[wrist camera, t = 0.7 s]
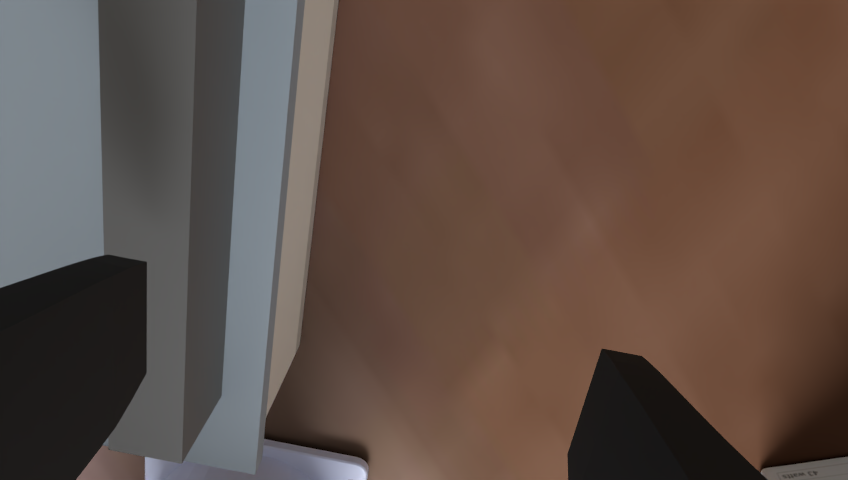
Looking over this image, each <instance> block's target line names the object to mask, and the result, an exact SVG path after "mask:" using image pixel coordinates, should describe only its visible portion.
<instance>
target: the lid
mask: <svg viewBox="0 0 848 480" xmlns="http://www.w3.org/2000/svg"><path fill="white" fill-rule="evenodd" d="M304 6H305V0H0V288H2V287H5V286H8V285H10V284H13V283H16V282H19V281H22V280H25V279H28V278H31V277H34V276H37V275H40V274H43V273H46V272H49V271H52V270H55V269H58V268H61V267H64V266H67V265H70V264H74V263H77V262H80V261H83V260H87V259H90V258H94V257H99V256H103V255H114V256H119V257H124V258H129V259H135V260H140V261H145V262H147V373H146V375H145V377H144V379H143V381H142V382H141V384H140V386H139V388H138V390H137V392H136V393H135V395H134V397H133V399H132V401H131V402H130V404H129V406H128V407H127V409H126V411H125V413H124V414H123V416H122V418H121V419H120V421H119V423H118V424H117V426H116V428H115V429H114V430H113V432H112V433H111V434H110V436H109V437H108V438H107V440H106V441H105V442H104V444H103V445H104V446H109V450H113V451H118V452H123V453H129V454H134V455H139V456H144V457H149V458H154V459H159V460H165V461H170V462H175V463H180V464H182V463H183V461H186V462H191V463H197V464H202V465H207V466H212V467H217V468H222V469H227V470H232V471H238V472H243V473H248V474H253V475H255V474H256V472H257V469H258V467H259V465H260V463H261V460H262V454H263V444H264V433H265V422H266V412H267V401H268V390H269V380H270V369H271V358H272V347H273V337H274V326H275V315H276V305H277V294H278V283H279V273H280V262H281V251H282V241H283V230H284V219H285V209H286V198H287V187H288V177H289V166H290V155H291V145H292V134H293V123H294V113H295V102H296V91H297V81H298V70H299V59H300V49H301V38H302V27H303V17H304Z"/></svg>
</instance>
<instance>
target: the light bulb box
mask: <svg viewBox="0 0 848 480" xmlns="http://www.w3.org/2000/svg"><path fill="white" fill-rule="evenodd" d="M761 474H762V475H763V476H764V477H765V478H767V479H768V480H848V457H841V458H834V459H827V460H820V461H813V462H806V463H799V464H792V465H784V466H776V467H769V468H764V469H762V471H761Z"/></svg>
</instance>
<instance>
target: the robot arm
mask: <svg viewBox="0 0 848 480" xmlns="http://www.w3.org/2000/svg"><path fill="white" fill-rule="evenodd" d="M146 373H147V262H145V261H140V260H135V259H129V258H124V257H119V256H114V255H103V256H99V257H94V258H90V259H87V260H83V261H80V262H77V263H74V264H70V265H67V266H64V267H61V268H58V269H55V270H52V271H49V272H46V273H43V274H40V275H37V276H34V277H31V278H28V279H25V280H22V281H19V282H16V283H13V284H10V285H8V286H5V287H2V288H0V480H76V479H77V477H78V476H79V475H80V474H81V472H82V471H83V470H84V468H85V467H86V466H87V465H88V463H89V462H90V461H91V459H92V458H93V457H94V455H95V454H96V453H97V451H98V450H99V449H100V448H101V446H102V445H103V444H104V442H105V441H106V440H107V438H108V437H109V436H110V434H111V433H112V432H113V430H114V429H115V428H116V426H117V424H118V423H119V421H120V419H121V418H122V416H123V414H124V413H125V411H126V409H127V407H128V406H129V404H130V402H131V401H132V399H133V397H134V395H135V393H136V392H137V390H138V388H139V386H140V384H141V382H142V381H143V379H144V377H145V375H146ZM368 472H369V467H368V465H367V463H366V462H365V461H364V460H363V459H361V458H358V457H355V456H349V455H344V454H339V453H334V452H329V451H324V450H319V449H313V448H308V447H303V446H298V445H293V444H288V443H282V442H277V441H272V440H267V439H264V444H263V454H262V460H261V463H260V465H259V467H258V469H257V472H256V474H255V475H253V474H248V473H243V472H238V471H232V470H227V469H222V468H217V467H212V466H207V465H202V464H197V463H191V462H186V461H183V463H182V464H180V463H175V462H170V461H165V460H159V459H154V458H149V457H145V480H367V477H368ZM568 480H768V479H767V478H765V477H764V476H763V475H762V474H761V473H760V472H759V471H758V470H757V469H755V468H754V467H753V466H752V465H751V464H750V463H749V462H748V461H747V460H746V459H745V458H744V457H743V456H742V455H741V454H740V453H739V452H738V451H737V450H736V449H735V448H734V447H733V446H732V445H730V444H729V443H728V442H727V441H726V440H725V439H724V438H723V437H722V436H721V435H720V434H719V433H718V432H717V431H716V430H715V429H714V428H713V427H712V426H711V425H710V424H709V423H708V422H707V421H706V419H705V418H704V417H703V416H702V415H701V414H700V413H699V412H698V411H697V410H696V409H695V408H694V407H693V406H692V405H691V404H690V403H689V402H688V401H687V400H686V399H685V398H684V397H683V396H682V395H681V394H680V393H679V392H678V391H677V390H676V389H675V388H674V387H673V385H672V384H671V383H670V382H669V381H668V380H667V379H666V378H665V377H664V376H663V375H662V374H661V373H660V372H659V371H658V370H657V369H656V368H655V367H653V366H652V365H651V364H650V363H649V362H648V361H647V360H646V359H645V358H643V357H642V356H638V355H633V354H628V353H622V352H617V351H612V350H607V349H602V350H601V353H600V356H599V359H598V362H597V365H596V368H595V371H594V375H593V378H592V381H591V384H590V387H589V390H588V393H587V396H586V399H585V402H584V405H583V408H582V411H581V415H580V418H579V421H578V424H577V427H576V430H575V433H574V436H573V439H572V442H571V445H570V448H569V451H568Z"/></svg>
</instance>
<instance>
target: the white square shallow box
mask: <svg viewBox="0 0 848 480" xmlns="http://www.w3.org/2000/svg"><path fill="white" fill-rule="evenodd" d="M338 2H339V0H305V6H304V17H303V27H302V38H301V49H300V59H299V70H298V81H297V91H296V102H295V113H294V123H293V134H292V145H291V155H290V166H289V177H288V187H287V198H286V209H285V219H284V230H283V241H282V251H281V262H280V273H279V283H278V294H277V305H276V315H275V326H274V337H273V347H272V358H271V369H270V380H269V390H268V401H267V412H266V417H267V414H268V412H269V410H270V408H271V406H272V404H273V401H274V399H275V397H276V395H277V393H278V391H279V389H280V386H281V384H282V382H283V380H284V378H285V376H286V374H287V371H288V369H289V367H290V365H291V363H292V361H293V358H294V356H295V354H296V352H297V350H298V348H299V346H300V339H301V330H302V321H303V312H304V303H305V294H306V285H307V277H308V268H309V259H310V250H311V241H312V232H313V223H314V215H315V206H316V197H317V188H318V179H319V170H320V161H321V153H322V144H323V135H324V126H325V117H326V108H327V99H328V90H329V82H330V73H331V64H332V55H333V46H334V37H335V28H336V20H337V11H338Z"/></svg>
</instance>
